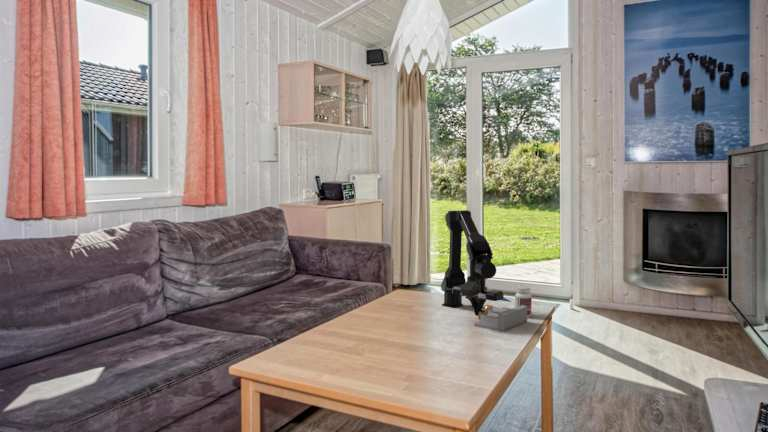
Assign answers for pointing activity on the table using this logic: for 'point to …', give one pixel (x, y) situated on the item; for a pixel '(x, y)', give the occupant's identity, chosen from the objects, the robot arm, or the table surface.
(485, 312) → the knob near
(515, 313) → the mount
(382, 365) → the table surface
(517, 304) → the pill bottle
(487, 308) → the knob far
